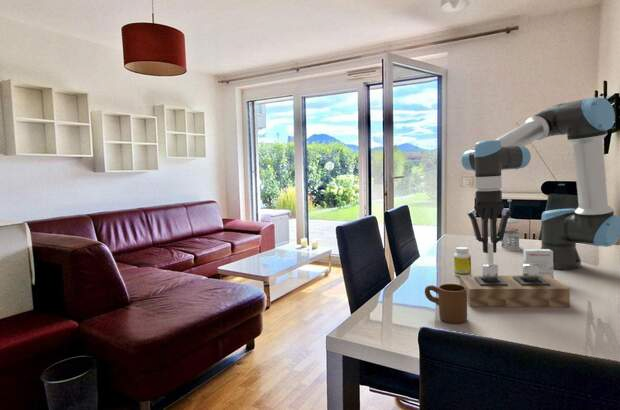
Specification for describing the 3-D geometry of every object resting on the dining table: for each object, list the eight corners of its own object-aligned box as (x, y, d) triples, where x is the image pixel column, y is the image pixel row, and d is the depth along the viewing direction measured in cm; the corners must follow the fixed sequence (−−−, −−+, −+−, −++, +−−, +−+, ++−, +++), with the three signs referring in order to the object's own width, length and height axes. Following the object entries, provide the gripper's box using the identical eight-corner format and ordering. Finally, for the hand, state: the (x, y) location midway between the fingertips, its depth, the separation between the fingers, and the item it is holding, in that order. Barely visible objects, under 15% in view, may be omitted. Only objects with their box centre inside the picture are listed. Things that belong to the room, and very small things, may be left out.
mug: (420, 318, 110) (419, 287, 109) (430, 309, 116) (429, 280, 115) (462, 326, 102) (461, 293, 101) (470, 317, 108) (469, 285, 107)
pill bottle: (472, 277, 144) (472, 249, 143) (456, 277, 146) (455, 249, 145) (469, 272, 151) (468, 246, 150) (453, 273, 152) (452, 246, 151)
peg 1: (495, 279, 122) (495, 263, 122) (499, 283, 118) (499, 266, 118) (481, 279, 123) (480, 263, 123) (484, 283, 119) (484, 267, 118)
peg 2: (535, 279, 120) (535, 262, 120) (541, 283, 116) (541, 266, 115) (520, 279, 121) (520, 262, 120) (525, 283, 117) (525, 266, 116)
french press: (525, 250, 181) (525, 199, 179) (501, 251, 181) (501, 200, 179) (515, 246, 191) (514, 197, 189) (492, 247, 191) (491, 199, 189)
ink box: (549, 279, 136) (549, 248, 135) (553, 284, 131) (553, 251, 130) (523, 279, 139) (523, 248, 137) (526, 283, 134) (526, 251, 133)
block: (548, 291, 124) (548, 273, 124) (569, 306, 111) (569, 286, 110) (460, 291, 130) (459, 274, 129) (469, 306, 116) (469, 287, 115)
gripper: (506, 188, 120) (507, 259, 122) (464, 190, 123) (465, 260, 125) (514, 189, 113) (515, 265, 115) (469, 191, 115) (471, 265, 118)
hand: (489, 262), depth 120 cm, fingers closed
